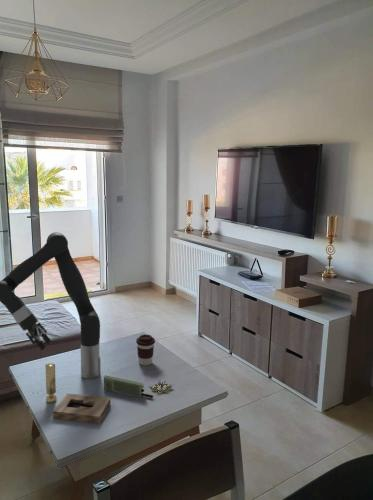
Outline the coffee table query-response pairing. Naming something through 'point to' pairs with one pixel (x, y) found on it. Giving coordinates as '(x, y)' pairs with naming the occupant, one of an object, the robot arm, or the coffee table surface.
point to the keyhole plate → (82, 408)
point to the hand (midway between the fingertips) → (46, 345)
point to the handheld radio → (124, 386)
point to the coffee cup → (145, 349)
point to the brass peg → (50, 383)
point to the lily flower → (160, 387)
